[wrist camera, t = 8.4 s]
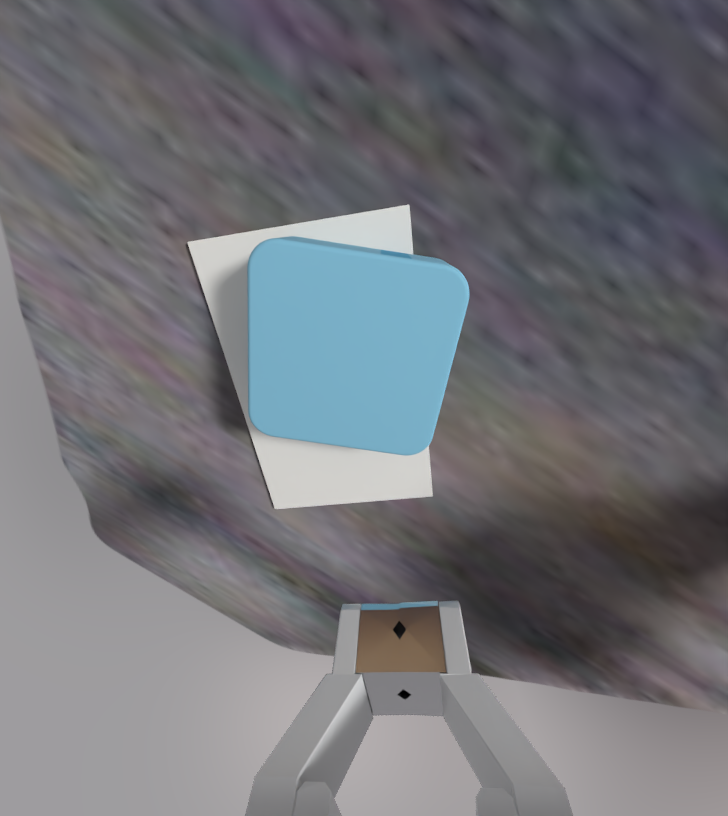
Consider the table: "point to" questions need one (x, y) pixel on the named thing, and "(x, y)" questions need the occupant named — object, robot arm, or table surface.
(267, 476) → the mat
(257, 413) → the data package
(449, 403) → the table surface
